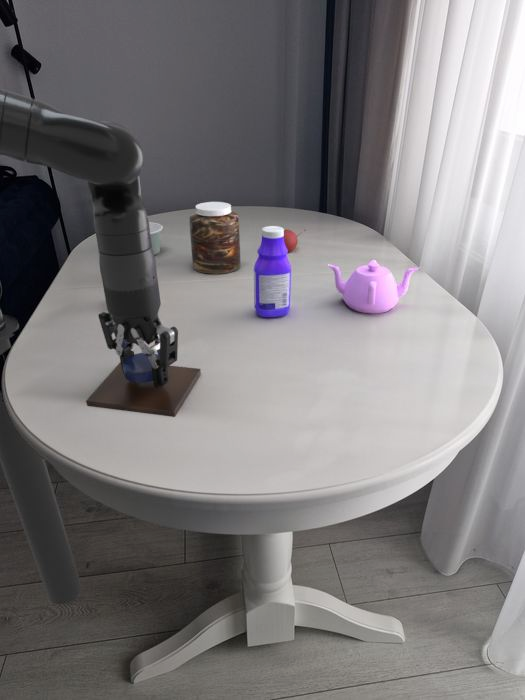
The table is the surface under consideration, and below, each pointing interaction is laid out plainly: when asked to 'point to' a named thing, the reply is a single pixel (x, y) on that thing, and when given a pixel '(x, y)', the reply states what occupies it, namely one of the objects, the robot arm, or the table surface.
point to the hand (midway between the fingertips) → (145, 379)
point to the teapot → (371, 288)
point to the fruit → (290, 240)
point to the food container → (155, 236)
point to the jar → (215, 238)
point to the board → (145, 392)
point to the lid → (138, 368)
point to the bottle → (272, 274)
